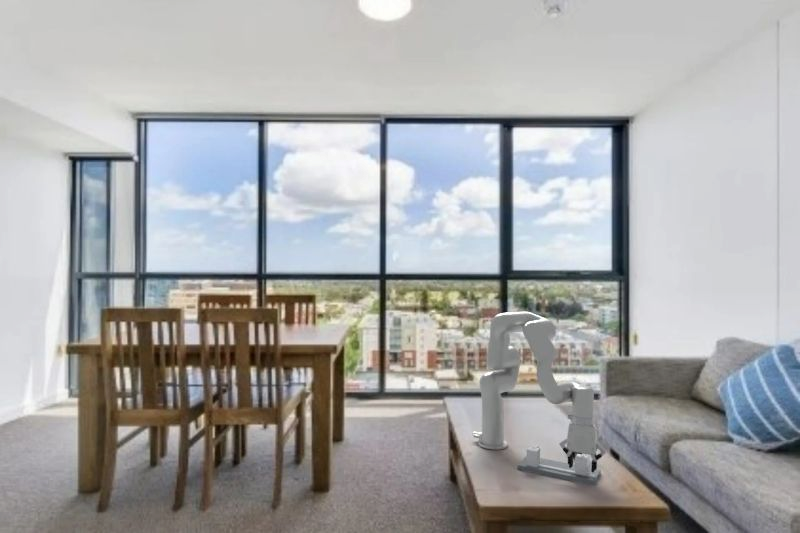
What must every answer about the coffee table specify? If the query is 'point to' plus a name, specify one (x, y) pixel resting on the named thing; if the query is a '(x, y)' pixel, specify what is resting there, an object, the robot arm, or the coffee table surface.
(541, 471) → the plate
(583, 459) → the sliding block
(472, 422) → the coffee table surface
